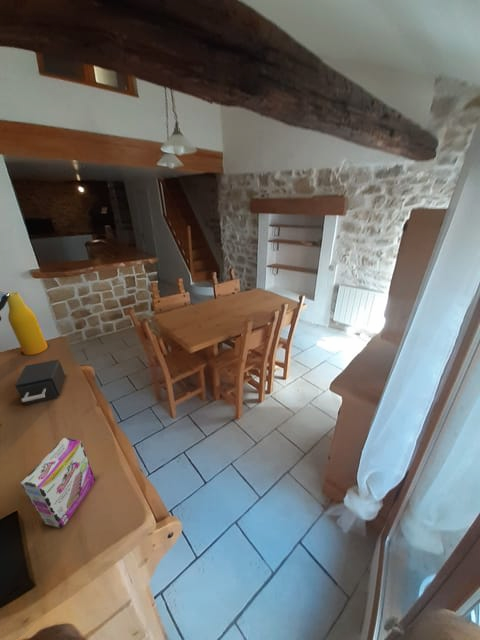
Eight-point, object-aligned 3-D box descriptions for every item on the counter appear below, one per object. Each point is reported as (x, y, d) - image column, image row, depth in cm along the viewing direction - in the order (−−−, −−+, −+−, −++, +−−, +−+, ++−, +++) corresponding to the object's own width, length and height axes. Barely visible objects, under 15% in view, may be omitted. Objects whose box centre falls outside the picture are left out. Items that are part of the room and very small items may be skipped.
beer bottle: (36, 358, 114) (10, 299, 101) (19, 355, 116) (-9, 297, 102) (53, 347, 122) (31, 291, 109) (36, 345, 124) (13, 289, 110)
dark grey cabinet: (60, 397, 93) (52, 377, 88) (25, 406, 89) (14, 385, 85) (66, 378, 102) (58, 359, 98) (34, 385, 98) (25, 365, 94)
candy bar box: (64, 531, 57) (39, 489, 49) (45, 526, 57) (17, 484, 50) (98, 481, 66) (81, 439, 59) (81, 477, 67) (62, 436, 60)
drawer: (54, 406, 88) (47, 389, 84) (21, 414, 84) (12, 397, 81) (62, 380, 100) (56, 364, 96) (34, 386, 96) (26, 370, 93)
